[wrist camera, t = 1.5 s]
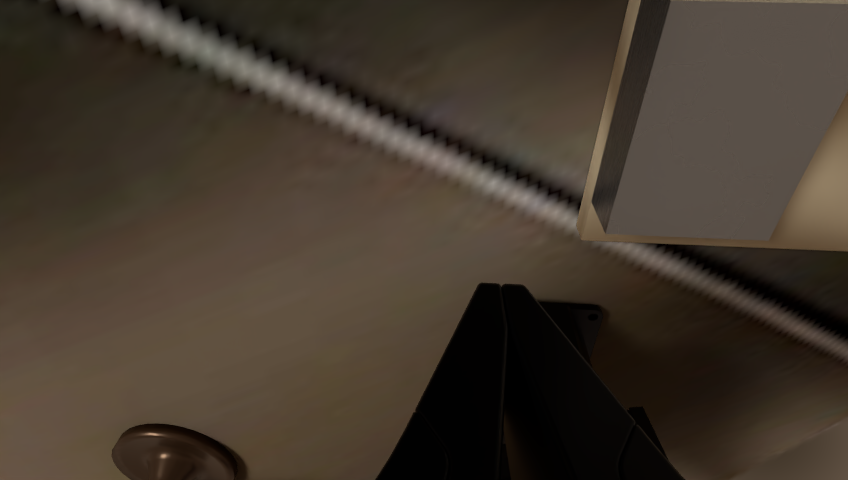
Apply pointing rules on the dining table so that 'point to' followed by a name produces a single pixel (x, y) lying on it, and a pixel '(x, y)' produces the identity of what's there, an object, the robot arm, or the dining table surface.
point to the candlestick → (171, 455)
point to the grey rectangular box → (720, 115)
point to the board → (802, 218)
